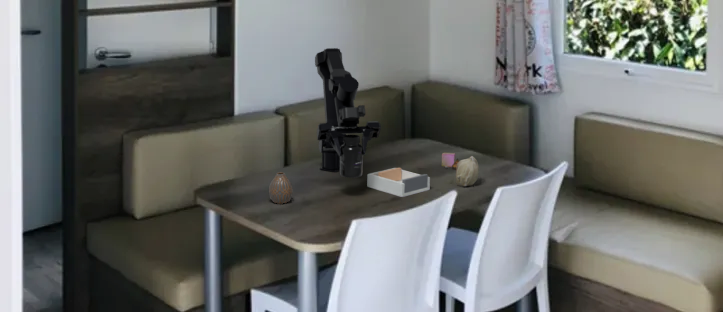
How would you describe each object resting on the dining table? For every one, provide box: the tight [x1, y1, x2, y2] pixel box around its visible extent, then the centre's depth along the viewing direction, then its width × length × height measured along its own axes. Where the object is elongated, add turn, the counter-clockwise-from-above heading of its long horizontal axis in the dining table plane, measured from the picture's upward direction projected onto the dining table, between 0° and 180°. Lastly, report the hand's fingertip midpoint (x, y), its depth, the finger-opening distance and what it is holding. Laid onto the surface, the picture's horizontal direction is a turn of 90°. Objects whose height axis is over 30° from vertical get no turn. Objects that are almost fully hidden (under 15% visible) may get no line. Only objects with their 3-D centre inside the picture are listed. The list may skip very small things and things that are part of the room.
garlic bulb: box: [455, 155, 480, 187], centre depth 303 cm, size 9×8×10 cm
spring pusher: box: [377, 167, 402, 181], centre depth 302 cm, size 3×9×4 cm, turn 133°
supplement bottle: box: [339, 134, 364, 179], centre depth 287 cm, size 7×7×12 cm
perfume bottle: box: [441, 152, 460, 171], centre depth 326 cm, size 12×12×4 cm
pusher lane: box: [366, 167, 431, 198], centre depth 299 cm, size 15×12×5 cm
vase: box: [268, 172, 294, 205], centre depth 283 cm, size 7×7×9 cm
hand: (352, 155), depth 286 cm, fingers closed on supplement bottle, 7 cm apart
